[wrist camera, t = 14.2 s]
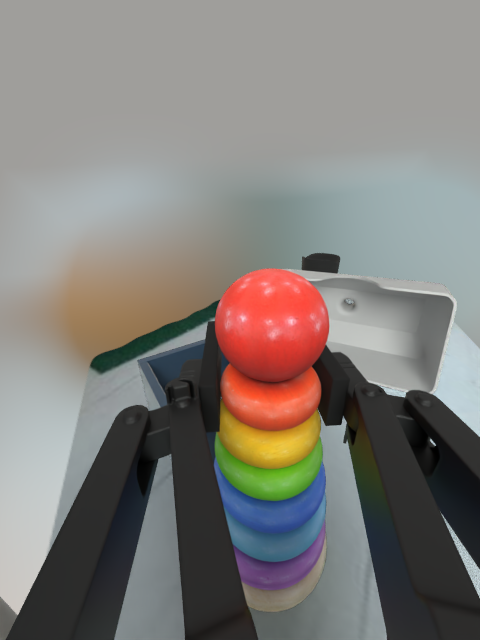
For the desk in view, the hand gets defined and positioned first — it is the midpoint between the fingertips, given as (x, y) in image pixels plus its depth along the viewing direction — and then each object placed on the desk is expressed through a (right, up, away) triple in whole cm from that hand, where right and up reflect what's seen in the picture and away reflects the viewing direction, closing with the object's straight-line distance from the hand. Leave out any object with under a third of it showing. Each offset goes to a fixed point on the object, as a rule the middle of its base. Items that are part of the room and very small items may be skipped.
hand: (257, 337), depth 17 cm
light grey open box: (+16, -4, +27) cm, 31 cm away
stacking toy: (+1, -14, +1) cm, 14 cm away
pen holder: (+20, +8, +53) cm, 57 cm away
